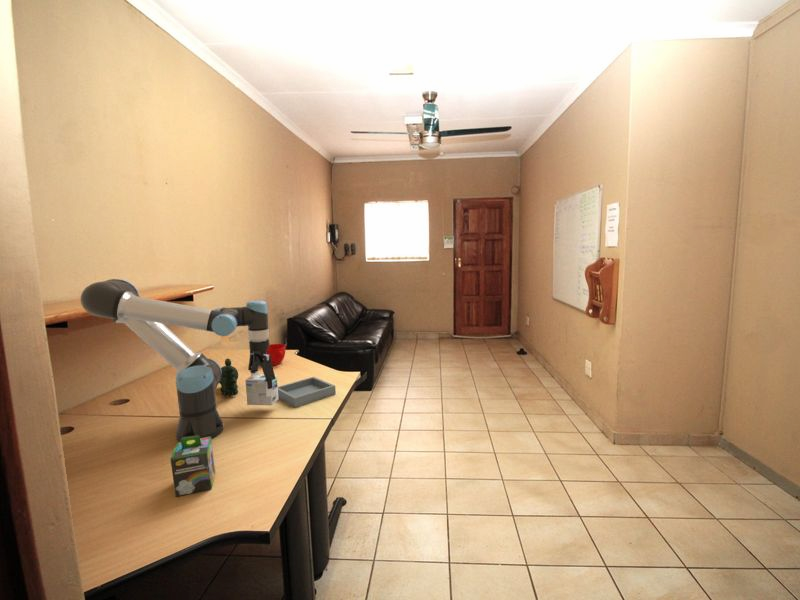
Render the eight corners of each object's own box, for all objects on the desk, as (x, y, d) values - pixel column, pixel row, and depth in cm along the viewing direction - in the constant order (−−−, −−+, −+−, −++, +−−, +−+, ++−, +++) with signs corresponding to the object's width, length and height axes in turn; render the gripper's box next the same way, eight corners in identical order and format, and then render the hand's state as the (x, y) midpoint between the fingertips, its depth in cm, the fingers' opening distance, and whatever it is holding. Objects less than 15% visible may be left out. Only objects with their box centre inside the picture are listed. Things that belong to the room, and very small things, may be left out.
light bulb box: (279, 399, 161) (277, 374, 159) (272, 406, 154) (270, 379, 152) (254, 398, 162) (252, 373, 160) (246, 405, 155) (244, 379, 154)
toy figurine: (243, 401, 172) (237, 380, 194) (240, 361, 168) (234, 344, 190) (220, 406, 168) (216, 383, 189) (216, 365, 164) (213, 346, 185)
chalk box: (215, 472, 115) (211, 424, 113) (212, 490, 107) (207, 439, 105) (180, 479, 112) (175, 430, 110) (174, 498, 104) (168, 446, 102)
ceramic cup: (271, 370, 210) (270, 352, 209) (258, 363, 223) (257, 346, 222) (293, 364, 219) (292, 347, 218) (280, 359, 232) (279, 342, 230)
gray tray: (295, 407, 160) (294, 398, 160) (275, 396, 173) (274, 387, 173) (335, 394, 174) (335, 385, 173) (314, 384, 187) (313, 376, 186)
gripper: (282, 343, 148) (285, 397, 151) (255, 333, 165) (258, 382, 168) (263, 346, 143) (267, 402, 146) (237, 336, 160) (241, 386, 163)
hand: (262, 392), depth 157 cm, fingers closed on light bulb box, 12 cm apart
